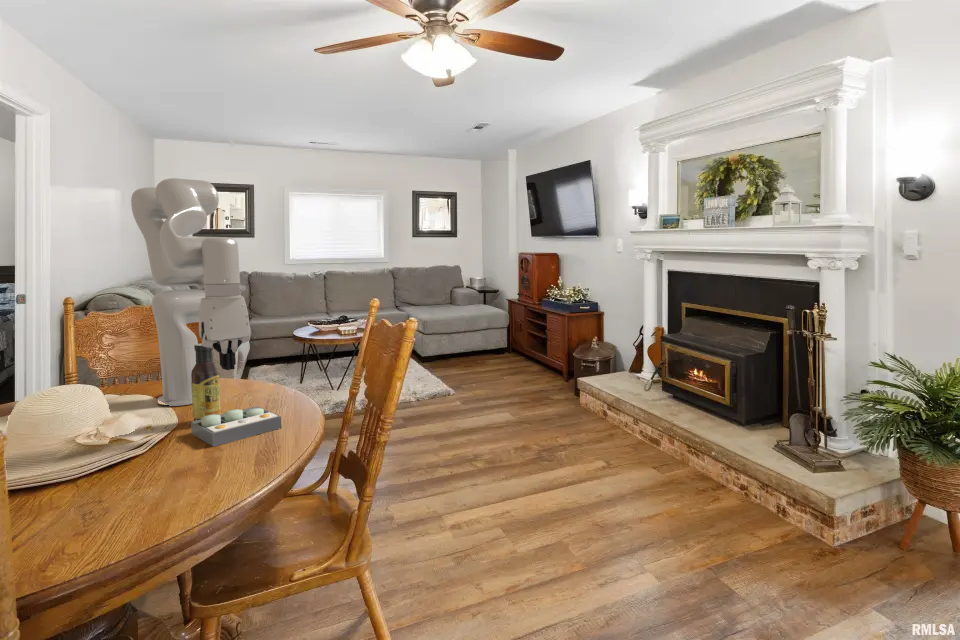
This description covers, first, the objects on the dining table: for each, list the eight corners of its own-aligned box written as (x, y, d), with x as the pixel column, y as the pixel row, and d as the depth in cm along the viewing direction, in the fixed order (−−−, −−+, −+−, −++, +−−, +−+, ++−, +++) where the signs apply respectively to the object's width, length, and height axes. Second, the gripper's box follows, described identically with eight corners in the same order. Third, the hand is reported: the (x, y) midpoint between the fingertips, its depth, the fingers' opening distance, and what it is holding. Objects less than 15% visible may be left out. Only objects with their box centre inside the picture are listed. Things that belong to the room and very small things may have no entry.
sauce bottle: (209, 427, 128) (204, 347, 126) (187, 425, 130) (181, 346, 127) (227, 418, 135) (222, 342, 132) (206, 417, 136) (200, 341, 133)
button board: (191, 434, 124) (190, 420, 123) (258, 417, 136) (257, 405, 135) (213, 446, 116) (212, 432, 115) (281, 428, 128) (280, 414, 127)
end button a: (199, 429, 122) (198, 417, 122) (217, 425, 125) (216, 413, 125) (206, 433, 120) (205, 421, 119) (224, 429, 123) (223, 416, 122)
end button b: (244, 422, 130) (243, 411, 130) (259, 418, 133) (259, 407, 133) (251, 426, 128) (250, 414, 127) (267, 422, 131) (266, 410, 130)
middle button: (222, 424, 126) (221, 412, 126) (238, 420, 129) (238, 408, 129) (229, 428, 124) (228, 415, 123) (246, 423, 127) (245, 411, 126)
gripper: (246, 288, 130) (251, 361, 132) (181, 292, 118) (187, 372, 121) (262, 290, 125) (266, 365, 127) (196, 294, 114) (202, 377, 116)
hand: (228, 368), depth 124 cm, fingers closed
